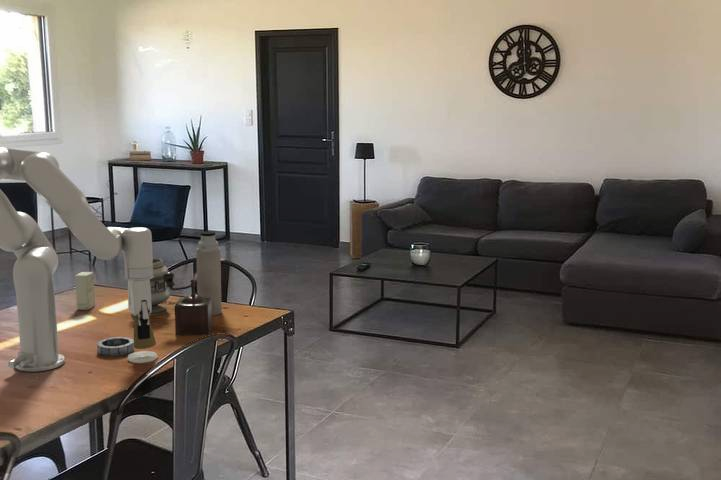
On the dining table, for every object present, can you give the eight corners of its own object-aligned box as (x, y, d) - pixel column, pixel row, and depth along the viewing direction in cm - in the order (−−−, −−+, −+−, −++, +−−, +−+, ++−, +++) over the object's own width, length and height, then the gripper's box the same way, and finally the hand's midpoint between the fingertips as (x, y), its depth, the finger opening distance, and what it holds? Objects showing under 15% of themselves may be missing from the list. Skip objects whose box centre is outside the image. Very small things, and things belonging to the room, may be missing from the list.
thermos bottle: (209, 308, 264) (207, 229, 259) (226, 311, 260) (224, 231, 255) (193, 313, 258) (190, 232, 253) (210, 317, 254) (208, 235, 248)
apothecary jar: (126, 313, 256) (123, 261, 253) (148, 305, 267) (147, 255, 264) (155, 318, 252) (153, 265, 248) (177, 309, 262) (175, 258, 259)
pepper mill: (213, 324, 245) (212, 270, 242) (208, 335, 234) (207, 278, 231) (165, 324, 244) (163, 270, 241) (157, 335, 234) (155, 278, 230)
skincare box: (89, 310, 260) (87, 275, 258) (76, 309, 260) (74, 275, 258) (95, 305, 266) (94, 271, 264) (83, 305, 266) (81, 271, 264)
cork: (138, 350, 208) (133, 312, 205) (130, 345, 213) (125, 308, 210) (159, 344, 211) (154, 307, 209) (151, 339, 216) (146, 303, 214)
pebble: (146, 364, 207) (146, 361, 207) (121, 361, 210) (121, 358, 210) (162, 355, 215) (162, 353, 215) (138, 352, 217) (138, 349, 217)
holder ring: (120, 357, 212) (119, 349, 212) (90, 353, 215) (90, 345, 215) (140, 347, 222) (140, 339, 221) (112, 343, 225) (112, 335, 224)
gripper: (120, 267, 214) (123, 329, 217) (130, 280, 199) (134, 346, 202) (147, 265, 217) (150, 326, 220) (159, 277, 202) (162, 343, 205)
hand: (142, 335), depth 211 cm, fingers closed on cork, 4 cm apart
